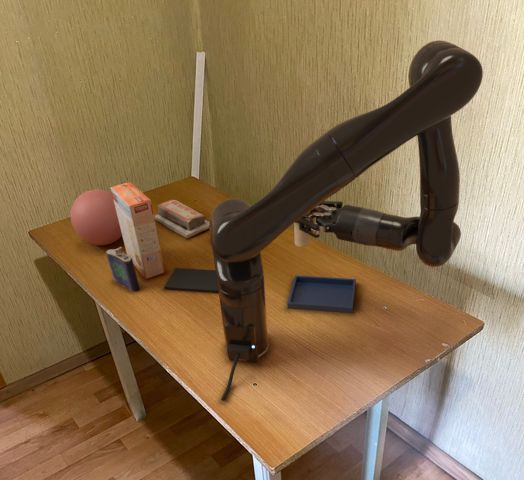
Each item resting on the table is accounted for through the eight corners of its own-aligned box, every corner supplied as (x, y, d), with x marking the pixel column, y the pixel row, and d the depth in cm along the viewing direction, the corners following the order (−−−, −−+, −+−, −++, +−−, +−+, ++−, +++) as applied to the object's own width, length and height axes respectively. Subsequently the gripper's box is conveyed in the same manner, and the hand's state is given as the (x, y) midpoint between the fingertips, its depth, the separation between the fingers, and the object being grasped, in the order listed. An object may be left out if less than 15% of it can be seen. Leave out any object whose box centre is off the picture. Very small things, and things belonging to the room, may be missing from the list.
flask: (112, 281, 139) (101, 245, 132) (120, 276, 141) (111, 240, 134) (134, 293, 134) (125, 256, 127) (143, 287, 136) (134, 251, 129)
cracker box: (166, 273, 141) (151, 199, 127) (145, 280, 138) (127, 206, 125) (147, 251, 150) (131, 180, 136) (127, 257, 148) (108, 186, 134)
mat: (241, 294, 131) (240, 292, 131) (164, 289, 135) (164, 286, 134) (248, 274, 138) (248, 272, 137) (176, 270, 141) (175, 267, 141)
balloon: (155, 234, 157) (145, 184, 147) (96, 261, 147) (81, 210, 137) (127, 218, 166) (115, 170, 156) (69, 243, 156) (53, 193, 146)
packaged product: (150, 205, 161) (177, 194, 166) (153, 220, 164) (180, 209, 169) (184, 224, 150) (212, 212, 155) (187, 239, 153) (214, 227, 158)
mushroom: (314, 248, 122) (314, 194, 113) (291, 249, 122) (290, 195, 113) (312, 237, 126) (312, 183, 117) (290, 238, 126) (289, 185, 117)
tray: (352, 314, 123) (352, 307, 122) (287, 309, 126) (287, 303, 124) (355, 285, 132) (356, 279, 130) (295, 281, 134) (295, 275, 133)
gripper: (375, 196, 115) (304, 183, 122) (349, 224, 106) (274, 209, 113) (372, 227, 120) (304, 213, 127) (347, 257, 111) (276, 240, 118)
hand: (290, 211), depth 120 cm, fingers closed on mushroom, 3 cm apart
